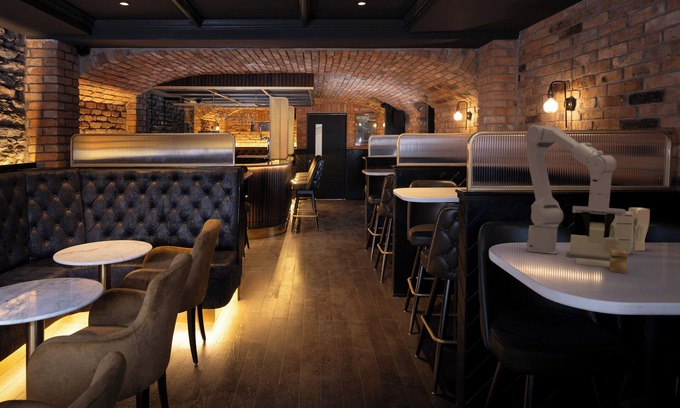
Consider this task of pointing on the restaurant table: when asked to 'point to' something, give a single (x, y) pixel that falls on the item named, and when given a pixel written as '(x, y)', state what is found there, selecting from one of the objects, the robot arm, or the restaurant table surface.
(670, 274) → the restaurant table surface
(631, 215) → the syrup box
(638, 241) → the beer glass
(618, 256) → the oak block
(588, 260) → the pad
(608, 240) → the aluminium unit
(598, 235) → the sage block
